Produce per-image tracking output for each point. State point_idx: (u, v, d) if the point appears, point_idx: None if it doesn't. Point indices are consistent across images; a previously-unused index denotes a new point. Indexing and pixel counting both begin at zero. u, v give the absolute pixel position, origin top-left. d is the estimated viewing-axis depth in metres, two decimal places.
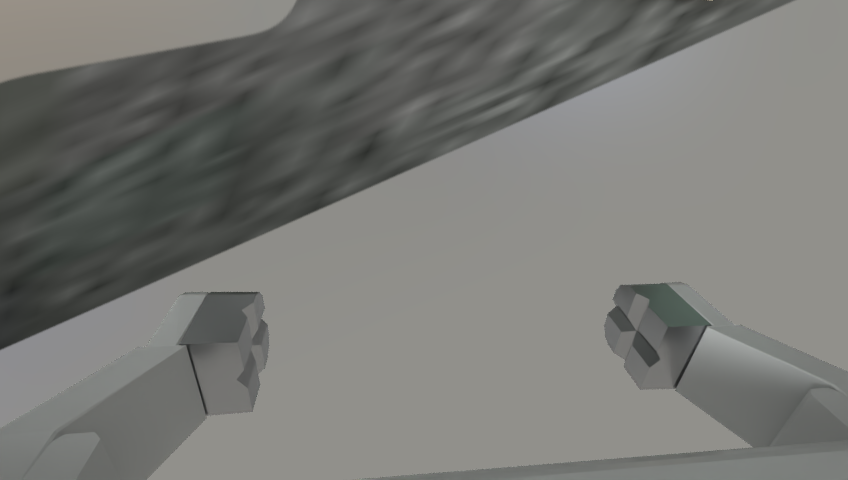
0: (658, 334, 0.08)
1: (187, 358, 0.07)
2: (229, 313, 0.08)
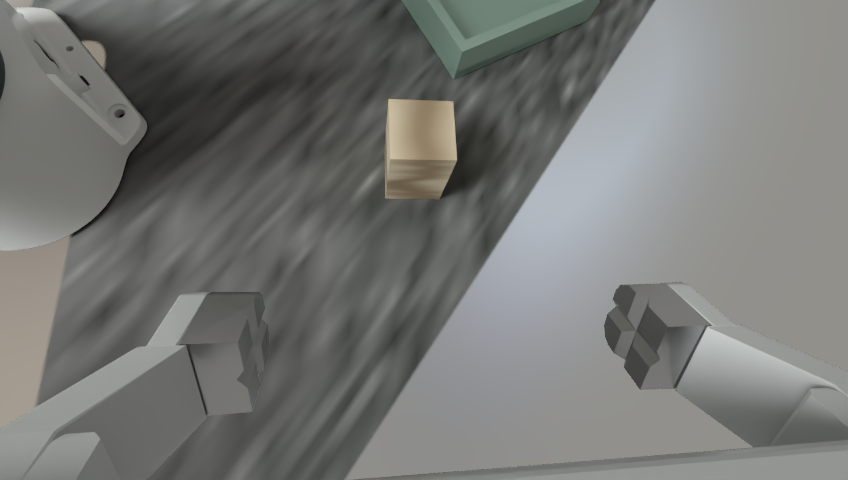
0: (658, 334, 0.08)
1: (187, 358, 0.07)
2: (229, 313, 0.08)
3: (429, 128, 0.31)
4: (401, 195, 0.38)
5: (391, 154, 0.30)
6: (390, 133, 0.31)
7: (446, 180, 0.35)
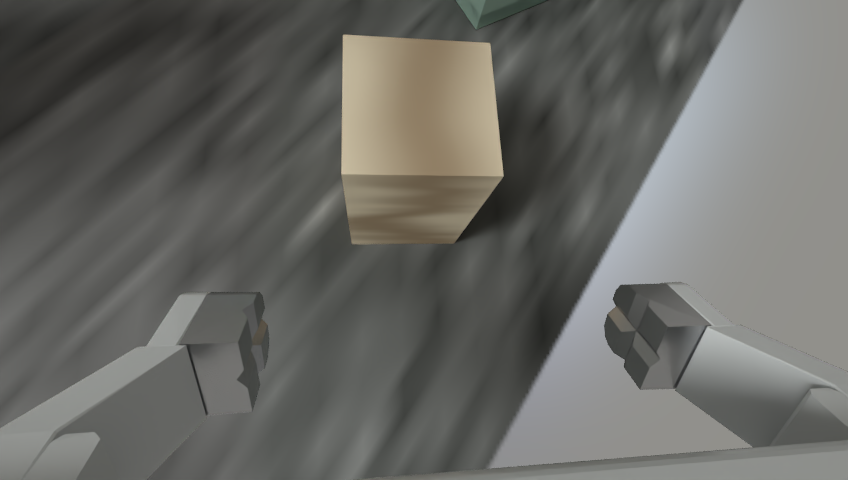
0: (658, 334, 0.08)
1: (187, 358, 0.07)
2: (229, 313, 0.08)
3: (439, 101, 0.14)
4: (381, 240, 0.20)
5: (345, 162, 0.13)
6: (344, 112, 0.13)
7: (471, 215, 0.17)
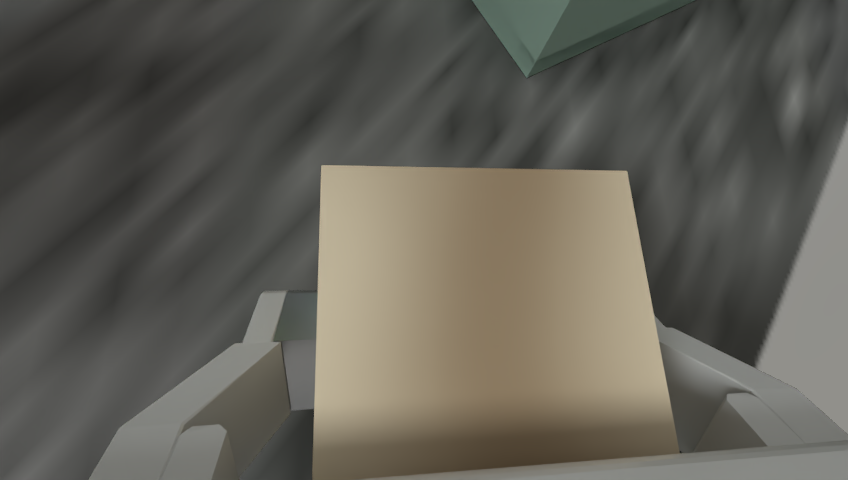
0: None
1: (280, 354, 0.07)
2: (313, 311, 0.08)
3: (533, 318, 0.06)
4: None
5: None
6: (321, 365, 0.06)
7: None
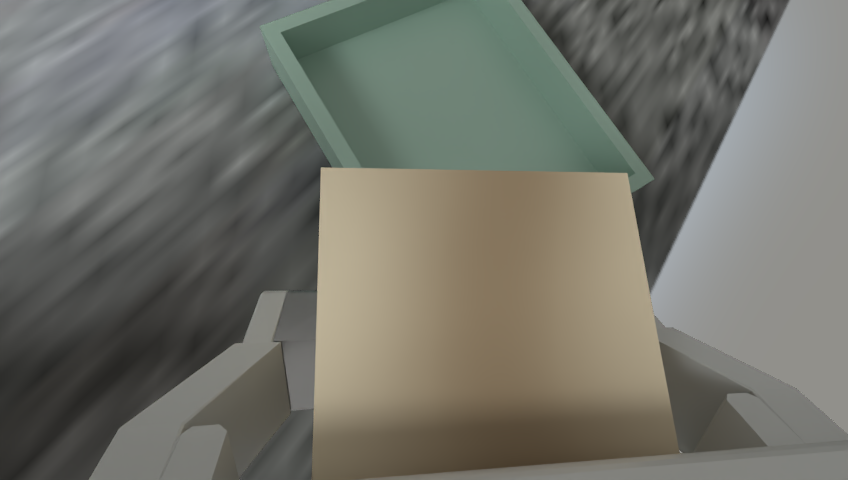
0: None
1: (280, 354, 0.07)
2: (313, 311, 0.08)
3: (533, 321, 0.06)
4: None
5: None
6: (321, 368, 0.06)
7: None
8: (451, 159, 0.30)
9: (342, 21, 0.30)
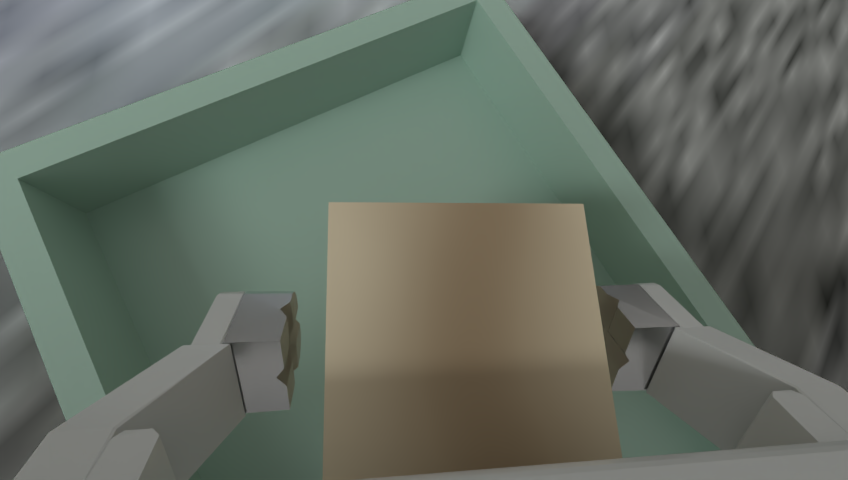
0: (626, 335, 0.08)
1: (230, 356, 0.07)
2: (268, 312, 0.08)
3: (501, 328, 0.07)
4: None
5: None
6: (330, 366, 0.07)
7: None
8: None
9: (189, 134, 0.14)
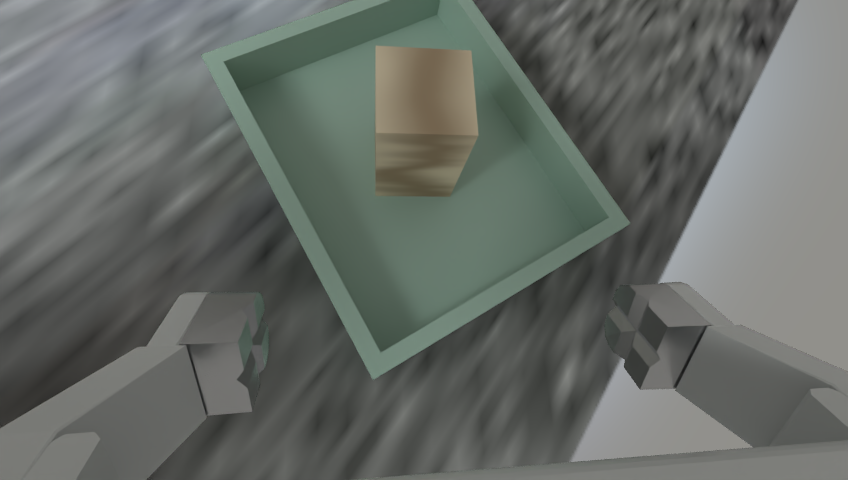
0: (658, 334, 0.08)
1: (187, 358, 0.07)
2: (229, 313, 0.08)
3: (437, 88, 0.21)
4: (397, 192, 0.27)
5: (378, 125, 0.20)
6: (377, 95, 0.20)
7: (460, 168, 0.24)
8: (411, 197, 0.28)
9: (295, 48, 0.28)
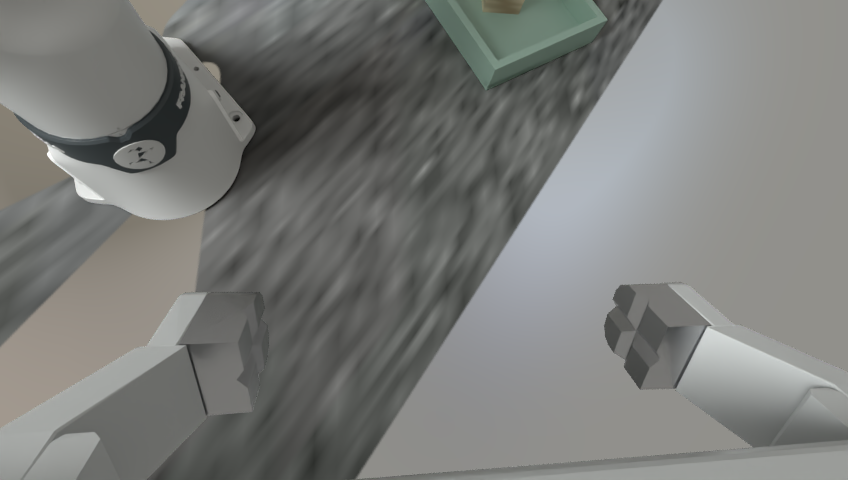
0: (658, 334, 0.08)
1: (187, 358, 0.07)
2: (229, 313, 0.08)
3: None
4: (494, 8, 0.55)
5: None
6: None
7: None
8: (499, 13, 0.56)
9: None
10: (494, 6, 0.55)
